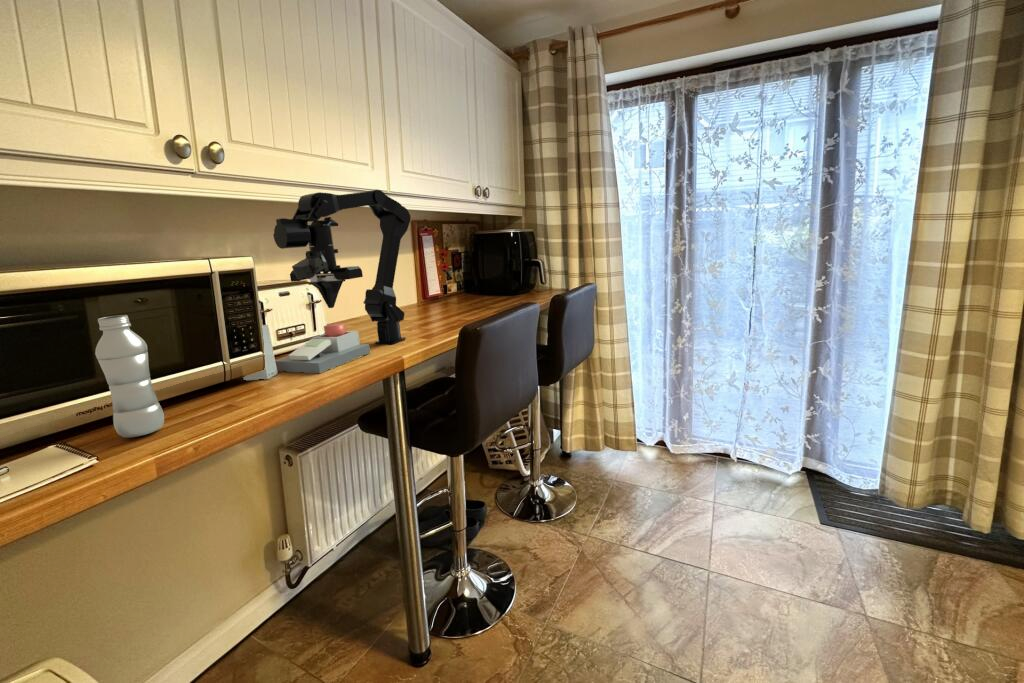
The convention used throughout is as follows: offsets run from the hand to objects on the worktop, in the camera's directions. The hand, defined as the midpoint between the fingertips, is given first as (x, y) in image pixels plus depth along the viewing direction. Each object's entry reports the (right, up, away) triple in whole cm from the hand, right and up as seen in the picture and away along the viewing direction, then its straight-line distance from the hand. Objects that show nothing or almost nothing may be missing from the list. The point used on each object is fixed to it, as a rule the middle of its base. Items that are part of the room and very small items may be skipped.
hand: (331, 307), depth 121 cm
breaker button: (+1, -8, +2) cm, 8 cm away
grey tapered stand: (-12, -17, -12) cm, 24 cm away
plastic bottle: (-16, -24, -42) cm, 51 cm away
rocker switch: (-3, -11, -6) cm, 13 cm away
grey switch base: (-1, -14, -2) cm, 14 cm away
